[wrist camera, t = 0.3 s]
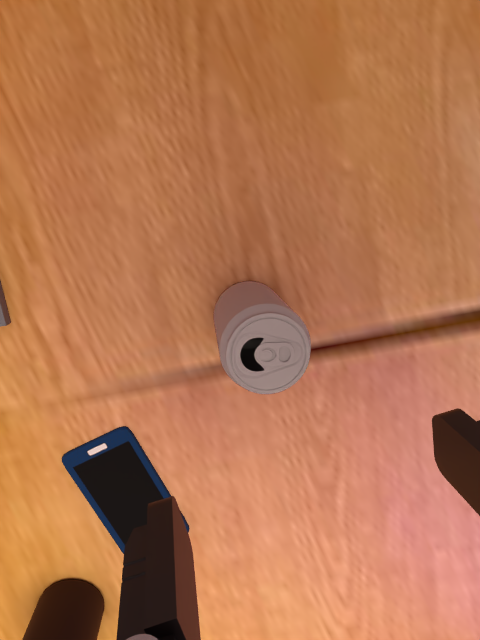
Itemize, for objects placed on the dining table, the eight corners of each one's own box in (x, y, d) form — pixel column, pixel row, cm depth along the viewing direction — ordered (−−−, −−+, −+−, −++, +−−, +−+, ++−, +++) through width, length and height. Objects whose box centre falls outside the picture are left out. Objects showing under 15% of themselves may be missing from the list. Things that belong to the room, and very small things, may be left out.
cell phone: (127, 421, 42) (126, 425, 41) (192, 528, 45) (192, 533, 45) (60, 453, 42) (57, 457, 41) (130, 557, 45) (128, 563, 45)
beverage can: (211, 281, 39) (217, 310, 27) (281, 278, 39) (317, 305, 28) (214, 348, 40) (221, 403, 29) (282, 344, 41) (315, 396, 29)
